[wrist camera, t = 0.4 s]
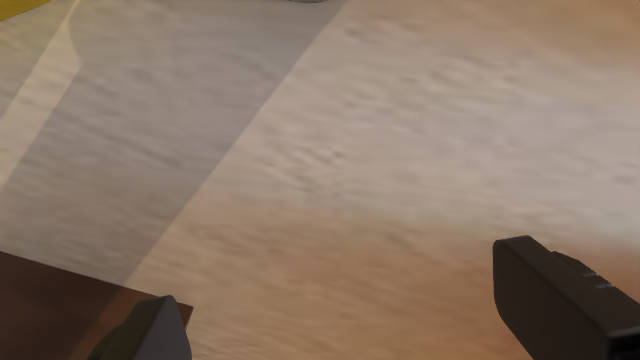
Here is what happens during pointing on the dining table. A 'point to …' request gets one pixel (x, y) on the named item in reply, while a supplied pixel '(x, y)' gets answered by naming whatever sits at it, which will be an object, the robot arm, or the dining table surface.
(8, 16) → the element tile
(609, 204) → the dining table surface
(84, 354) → the shelf
